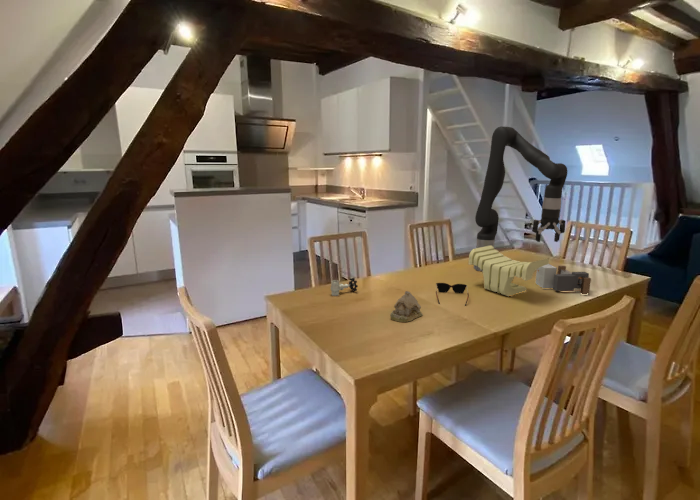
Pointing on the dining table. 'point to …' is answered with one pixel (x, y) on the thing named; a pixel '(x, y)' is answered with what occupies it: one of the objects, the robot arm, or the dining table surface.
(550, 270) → the small box
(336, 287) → the valve
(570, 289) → the collar
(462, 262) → the dining table surface
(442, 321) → the dining table surface
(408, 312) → the ceramic model
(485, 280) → the slatted curved stool
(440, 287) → the sunglasses
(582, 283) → the brown l-shaped piece
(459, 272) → the dining table surface
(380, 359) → the dining table surface
